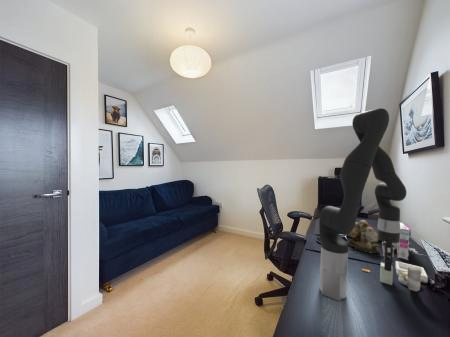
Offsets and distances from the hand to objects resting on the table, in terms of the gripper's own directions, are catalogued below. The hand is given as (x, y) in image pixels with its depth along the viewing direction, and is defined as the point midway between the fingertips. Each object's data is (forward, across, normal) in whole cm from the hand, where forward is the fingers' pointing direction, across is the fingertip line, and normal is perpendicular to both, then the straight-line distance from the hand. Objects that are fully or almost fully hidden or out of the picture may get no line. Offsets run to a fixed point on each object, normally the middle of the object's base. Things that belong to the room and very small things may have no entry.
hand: (387, 266), depth 86 cm
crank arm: (+4, -1, -8) cm, 9 cm away
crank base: (+7, +4, -1) cm, 8 cm away
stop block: (+7, 0, 0) cm, 7 cm away
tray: (+7, +14, -9) cm, 18 cm away
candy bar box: (+8, +38, -9) cm, 40 cm away
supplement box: (+8, +52, -6) cm, 53 cm away
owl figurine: (+7, +36, +10) cm, 38 cm away
